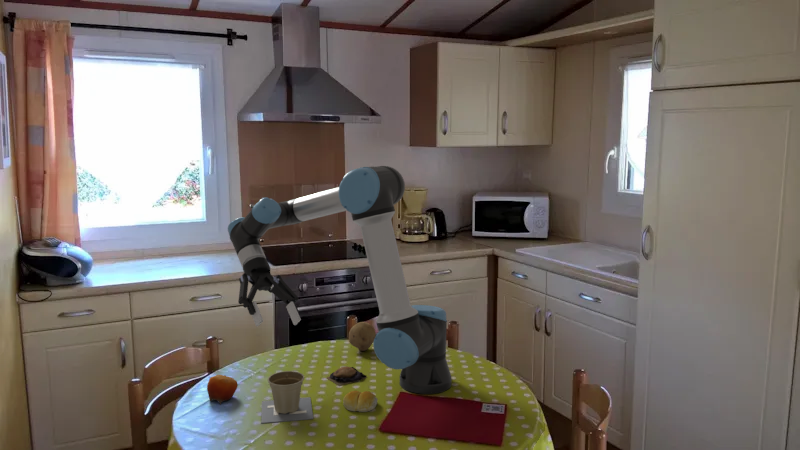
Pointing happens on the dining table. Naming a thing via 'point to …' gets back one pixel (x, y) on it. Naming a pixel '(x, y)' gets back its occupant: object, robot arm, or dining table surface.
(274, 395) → the flower pot
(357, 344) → the potato
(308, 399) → the tile
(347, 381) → the abalone
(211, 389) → the fruit
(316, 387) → the dining table surface
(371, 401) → the bread roll
